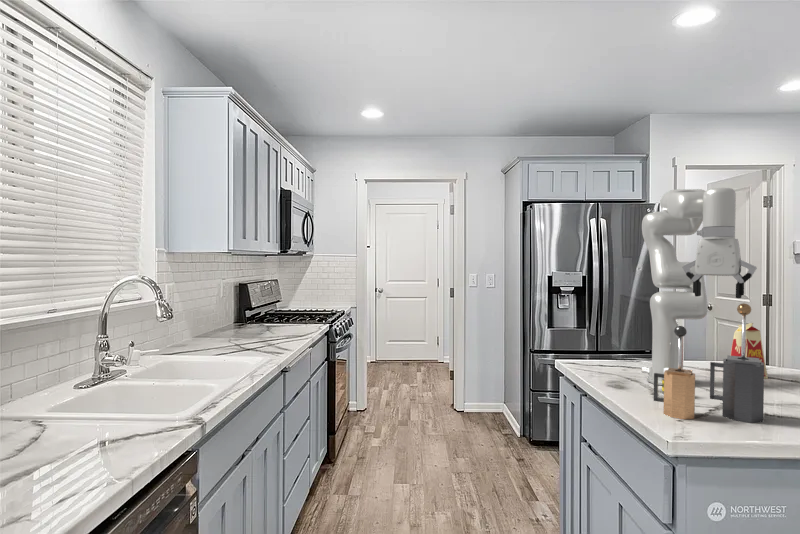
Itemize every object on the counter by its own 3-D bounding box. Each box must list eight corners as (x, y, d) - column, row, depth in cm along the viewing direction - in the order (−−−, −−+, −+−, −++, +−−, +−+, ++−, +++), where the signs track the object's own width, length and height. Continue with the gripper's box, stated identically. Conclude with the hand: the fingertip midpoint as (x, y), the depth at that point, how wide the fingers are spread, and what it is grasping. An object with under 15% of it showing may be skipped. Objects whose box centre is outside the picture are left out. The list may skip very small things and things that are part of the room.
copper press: (652, 414, 139) (652, 370, 138) (655, 408, 145) (655, 365, 145) (693, 420, 133) (694, 374, 133) (695, 414, 139) (695, 370, 139)
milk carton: (768, 379, 184) (768, 323, 183) (742, 378, 184) (743, 323, 184) (750, 373, 193) (751, 320, 193) (726, 373, 193) (727, 320, 193)
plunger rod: (735, 380, 136) (737, 303, 136) (735, 378, 139) (736, 302, 139) (750, 382, 134) (751, 304, 134) (749, 379, 137) (751, 303, 137)
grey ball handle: (672, 387, 138) (673, 326, 138) (673, 385, 140) (674, 324, 140) (685, 389, 136) (686, 326, 136) (686, 387, 139) (687, 325, 138)
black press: (709, 416, 137) (710, 358, 137) (710, 408, 145) (711, 353, 144) (763, 424, 131) (764, 363, 130) (761, 416, 138) (762, 358, 138)
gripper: (679, 234, 142) (678, 296, 142) (753, 232, 129) (752, 299, 130) (687, 235, 147) (686, 295, 147) (759, 233, 135) (758, 298, 135)
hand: (717, 297), depth 138 cm, fingers open, 9 cm apart
